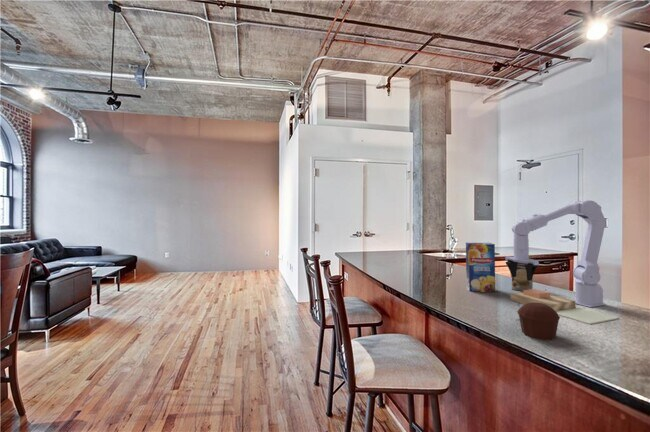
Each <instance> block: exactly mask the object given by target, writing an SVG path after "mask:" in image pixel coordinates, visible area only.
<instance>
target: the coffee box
mask: <svg viewBox="0 0 650 432" xmlns="http://www.w3.org/2000/svg"><path fill="white" fill-rule="evenodd" d="M529 259H533V258H530V257H529ZM522 262H524V261H522ZM525 265H527V264H526V263H520V262H518V265H517V270H516V277H511V290H514V291H520V292H523V290H529V289H534V284H533V283H534V277H533V278H532V280H531V281H528V280H527V273H526V268H525Z"/></svg>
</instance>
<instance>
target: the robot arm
mask: <svg viewBox="0 0 650 432" xmlns="http://www.w3.org/2000/svg"><path fill="white" fill-rule="evenodd" d="M567 215H575V216H578V217H579V218H581V219H583V220H584V221H585V222H586V223H587V228H586V233H585V237H584V244H583V248H582V253H581V257H580V260H579V261H577V263H576V266H575V267H574V268H573V270H572V274H573V277H574V278H575V288H574V289H575V293H574V294H575V300H574V301H575V305H580V306H583V307H588V308H594V307H595V308H596V307H600V306H606V303H604V290H603V287H602V285H600V284H599V282H600V280H601V275H600V267H599V264H598V260H599V255H600V251H601V246H602V242H603V237H604V232H605V227H606V222H607V221H606V218H605V216H604V214H603V211H602V206H601V204H598V202H596V201H595V200H589V199H588V200H578V201H575V202H572V203H571V202H570V203H568V204H566V205H564V206H561V207H559V208H557V209H555V210H552V211H550V212H547V213H546V214H542V213H539V214H537V213H535V214H532V216H530V217H528V218H526V219H522V220H521V221H520V222H516V223H514V224H513V225H512V228H511V231H512V233H513V256H509V255H508V256H505V265H506V266H507V268H508V269H509V273H510V276H511V278H512V277H516V270H517V265H518V262H520V263H526V264H527V265H525V268H526V273H527V280H528V281H531V280H532V278H533V279H534V274H535V273H536V271H537V269H538V267H539V265H540V264H539V263H540V261H539V260H537V259H534V258H532V259H529V258H530V256H529V255H530V254H529V252H530V250H529V245H530V244H529V243H530V242H529V241H530V240H529V234H530V233H531V232H534V231H536V230H539V229H540V228H541V229H542V228H543V227H546V226H547V225H548V223H549V222H551V221H554V220H556V219H559V218H562V217H564V216H567ZM522 261H524V262H522Z"/></svg>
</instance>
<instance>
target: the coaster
mask: <svg viewBox="0 0 650 432" xmlns="http://www.w3.org/2000/svg"><path fill="white" fill-rule="evenodd" d="M522 292H523V295H527V296H530V297H534V298H538V299H541V298H547V297H551V295H552V292H551V291H546V290H541V289H537V288H533V289H529V290H523V291H522Z"/></svg>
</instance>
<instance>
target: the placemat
mask: <svg viewBox="0 0 650 432" xmlns="http://www.w3.org/2000/svg"><path fill="white" fill-rule="evenodd" d="M556 313H557V314H558V315H559V317H564V318H568V319H570V320H574V321H577V322H580V323H583V324H588V325H594V324H598V323H599V324H600V323H603V322H604V323H605V322H608V321H614V320H619V319H620V317H619V316H614V315H610V314H606V313H603V312H599V311H596V310H591V309H589V308H588V309H586V308H583V307H576V308H573V309H567V310H561V311H556Z"/></svg>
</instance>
